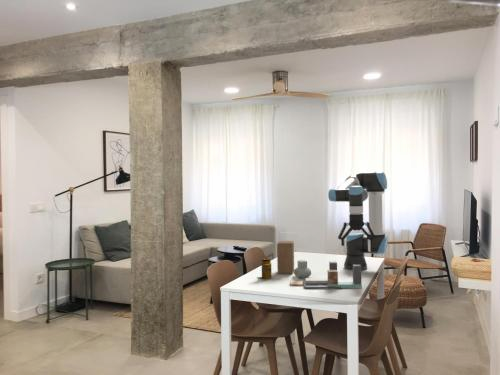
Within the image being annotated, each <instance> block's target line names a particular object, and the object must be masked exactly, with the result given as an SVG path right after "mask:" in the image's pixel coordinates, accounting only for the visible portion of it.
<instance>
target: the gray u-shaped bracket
mask: <svg viewBox="0 0 500 375" xmlns="http://www.w3.org/2000/svg"><path fill="white" fill-rule="evenodd" d="M328 263H329V264H328V265H329V266H328V268H329V269H328V270H337V271H338V262H337V261H329V262H328ZM304 279H305V283H317V282H328V277H307V278H304Z"/></svg>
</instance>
